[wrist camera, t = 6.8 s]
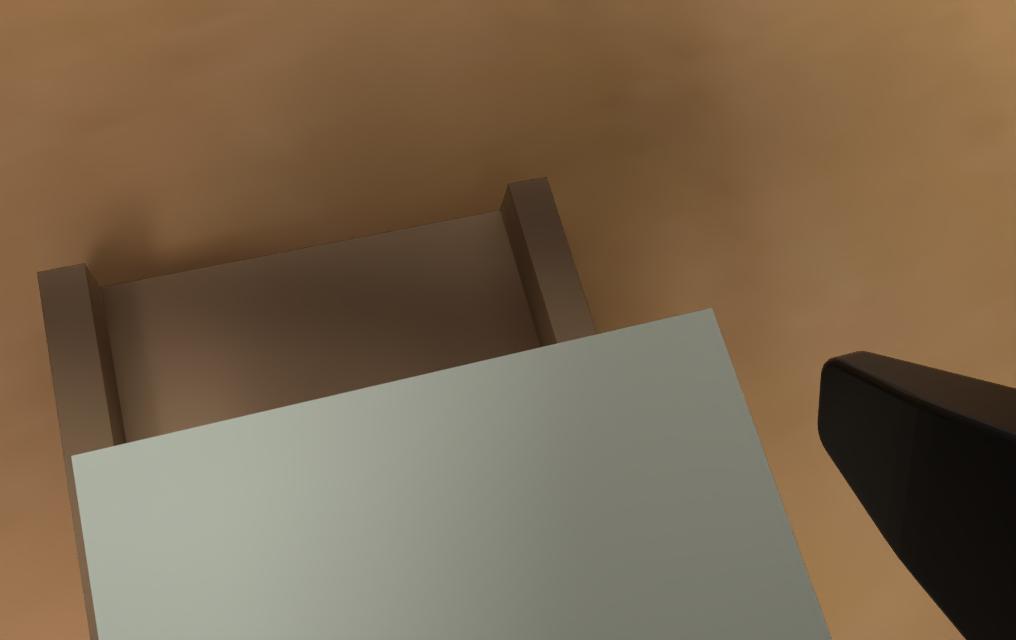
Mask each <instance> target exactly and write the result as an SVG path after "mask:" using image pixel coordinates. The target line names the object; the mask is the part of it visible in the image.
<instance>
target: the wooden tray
mask: <svg viewBox="0 0 1016 640" xmlns="http://www.w3.org/2000/svg"><path fill="white" fill-rule="evenodd" d="M37 275H38V282H39V289H40V296H41V303H42V310H43V316H44V323H45V330H46V337H47V344H48V351H49V358H50V365H51V372H52V378H53V385H54V392H55V399H56V406H57V413H58V420H59V427H60V434H61V440H62V447H63V454H64V461H65V468H66V475H67V482H68V489H69V496H70V503H71V509H72V516H73V523H74V530H75V537H76V544H77V551H78V558H79V565H80V571H81V578H82V585H83V592H84V599H85V606H86V613H87V620H88V627H89V633H90V640H99V639H98V632H97V625H96V619H95V612H94V605H93V599H92V592H91V585H90V579H89V572H88V565H87V559H86V552H85V545H84V539H83V532H82V525H81V518H80V512H79V505H78V498H77V492H76V485H75V478H74V472H73V465H72V458H71V456H73V455H78V454H82V453H86V452H91V451H95V450H99V449H104V448H108V447H112V446H117V445H121V444H125V443H130V442H134V441H138V440H143V439H147V438H151V437H155V436H160V435H164V434H168V433H173V432H177V431H181V430H186V429H190V428H194V427H199V426H203V425H207V424H212V423H216V422H220V421H225V420H229V419H233V418H238V417H242V416H246V415H251V414H255V413H259V412H263V411H268V410H272V409H276V408H281V407H285V406H289V405H294V404H298V403H302V402H307V401H311V400H315V399H320V398H324V397H328V396H333V395H337V394H341V393H346V392H350V391H354V390H359V389H363V388H367V387H371V386H376V385H380V384H384V383H389V382H393V381H397V380H402V379H406V378H410V377H415V376H419V375H423V374H428V373H432V372H436V371H441V370H445V369H449V368H454V367H458V366H462V365H467V364H471V363H475V362H479V361H484V360H488V359H492V358H497V357H501V356H505V355H510V354H514V353H518V352H523V351H527V350H531V349H536V348H540V347H544V346H549V345H553V344H557V343H562V342H566V341H570V340H575V339H579V338H583V337H587V336H592V335H596V334H597V333H596V330H595V327H594V324H593V321H592V318H591V314H590V311H589V308H588V305H587V302H586V299H585V296H584V293H583V289H582V286H581V283H580V280H579V277H578V274H577V271H576V268H575V264H574V261H573V258H572V255H571V252H570V249H569V246H568V243H567V239H566V236H565V233H564V230H563V227H562V224H561V221H560V217H559V214H558V211H557V208H556V205H555V202H554V199H553V196H552V192H551V189H550V186H549V183H548V180H547V177H542V178H537V179H532V180H526V181H521V182H516V183H510V184H508V187H507V190H506V193H505V196H504V199H503V202H502V205H501V209H500V210H499V211H493V212H488V213H483V214H478V215H473V216H468V217H462V218H457V219H452V220H447V221H442V222H436V223H431V224H426V225H421V226H416V227H411V228H405V229H400V230H395V231H390V232H385V233H380V234H374V235H369V236H364V237H359V238H354V239H349V240H343V241H338V242H333V243H328V244H323V245H318V246H312V247H307V248H302V249H297V250H292V251H287V252H281V253H276V254H271V255H266V256H261V257H256V258H250V259H245V260H240V261H235V262H230V263H225V264H219V265H214V266H209V267H204V268H199V269H194V270H188V271H183V272H178V273H173V274H168V275H163V276H157V277H152V278H147V279H142V280H137V281H131V282H126V283H121V284H116V285H111V286H106V287H100V285H99V284H98V282H97V281H96V280H95V278H94V277H93V275H92V274H91V272H90V271H89V269H88V268H87V266H86V265H85V264H84V263H83V264H78V265H73V266H67V267H62V268H57V269H51V270H46V271H41V272H37Z"/></svg>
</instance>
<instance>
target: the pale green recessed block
mask: <svg viewBox="0 0 1016 640" xmlns="http://www.w3.org/2000/svg"><path fill="white" fill-rule="evenodd" d="M71 458H72V465H73V472H74V478H75V485H76V492H77V498H78V505H79V512H80V518H81V525H82V532H83V539H84V545H85V552H86V559H87V565H88V572H89V579H90V585H91V592H92V599H93V605H94V612H95V619H96V625H97V632H98V639H99V640H832V639H831V636H830V633H829V630H828V628H827V625H826V622H825V619H824V616H823V614H822V611H821V608H820V605H819V603H818V600H817V597H816V594H815V592H814V589H813V586H812V583H811V581H810V578H809V575H808V572H807V569H806V567H805V564H804V561H803V558H802V556H801V553H800V550H799V547H798V545H797V542H796V539H795V536H794V533H793V531H792V528H791V525H790V522H789V520H788V517H787V514H786V511H785V509H784V506H783V503H782V500H781V497H780V495H779V492H778V489H777V486H776V484H775V481H774V478H773V475H772V473H771V470H770V467H769V464H768V462H767V459H766V456H765V453H764V450H763V448H762V445H761V442H760V439H759V437H758V434H757V431H756V428H755V426H754V423H753V420H752V417H751V414H750V412H749V409H748V406H747V403H746V401H745V398H744V395H743V392H742V390H741V387H740V384H739V381H738V379H737V376H736V373H735V370H734V367H733V365H732V362H731V359H730V356H729V354H728V351H727V348H726V345H725V343H724V340H723V337H722V334H721V331H720V329H719V326H718V323H717V320H716V318H715V315H714V312H713V309H712V308H708V309H704V310H700V311H695V312H691V313H687V314H683V315H678V316H674V317H670V318H665V319H661V320H657V321H652V322H648V323H644V324H639V325H635V326H631V327H626V328H622V329H618V330H613V331H609V332H605V333H600V334H596V335H592V336H587V337H583V338H579V339H575V340H570V341H566V342H562V343H557V344H553V345H549V346H544V347H540V348H536V349H531V350H527V351H523V352H518V353H514V354H510V355H505V356H501V357H497V358H492V359H488V360H484V361H479V362H475V363H471V364H467V365H462V366H458V367H454V368H449V369H445V370H441V371H436V372H432V373H428V374H423V375H419V376H415V377H410V378H406V379H402V380H397V381H393V382H389V383H384V384H380V385H376V386H371V387H367V388H363V389H359V390H354V391H350V392H346V393H341V394H337V395H333V396H328V397H324V398H320V399H315V400H311V401H307V402H302V403H298V404H294V405H289V406H285V407H281V408H276V409H272V410H268V411H263V412H259V413H255V414H251V415H246V416H242V417H238V418H233V419H229V420H225V421H220V422H216V423H212V424H207V425H203V426H199V427H194V428H190V429H186V430H181V431H177V432H173V433H168V434H164V435H160V436H155V437H151V438H147V439H143V440H138V441H134V442H130V443H125V444H121V445H117V446H112V447H108V448H104V449H99V450H95V451H91V452H86V453H82V454H78V455H73V456H71Z"/></svg>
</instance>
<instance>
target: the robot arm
mask: <svg viewBox="0 0 1016 640" xmlns="http://www.w3.org/2000/svg"><path fill="white" fill-rule="evenodd" d="M818 432H819V436H820V440H821V442H822V444H823V446H824V448H825V450H826V451H827V453H828V454H829V456H830V457H831V459H832V460H833V462H834V463H835V465H836V466H837V468H838V469H839V471H840V472H841V474H842V475H843V477H844V478H845V480H846V481H847V483H848V484H849V486H850V487H851V489H852V490H853V492H854V493H855V495H856V496H857V498H858V499H859V501H860V502H861V504H862V505H863V507H864V508H865V510H866V511H867V513H868V514H869V516H870V517H871V519H872V520H873V522H874V523H875V525H876V526H877V528H878V529H879V531H880V532H881V534H882V535H883V536H884V538H885V539H886V541H887V542H888V544H889V545H890V546H891V548H892V549H893V551H894V552H895V553H896V555H897V556H898V558H899V559H900V560H901V561H902V563H903V564H904V565H905V566H906V568H907V569H908V570H909V572H910V573H911V574H912V575H913V577H914V578H915V579H916V580H917V581H918V583H919V584H920V585H921V586H922V587H923V589H924V590H925V591H926V592H927V593H928V595H929V596H930V597H931V598H932V599H933V601H934V602H935V603H936V604H937V605H938V607H939V608H940V609H941V610H942V612H943V613H944V614H945V615H946V616H947V618H948V619H949V620H950V621H951V622H952V624H953V625H954V626H955V627H956V628H957V630H958V631H959V632H960V633H961V634H962V636H963V637H964V638H965V639H966V640H1016V388H1012V387H1008V386H1004V385H1000V384H996V383H992V382H988V381H983V380H979V379H975V378H971V377H967V376H963V375H959V374H955V373H951V372H947V371H943V370H939V369H935V368H931V367H927V366H923V365H919V364H915V363H911V362H907V361H903V360H899V359H895V358H890V357H886V356H882V355H878V354H874V353H870V352H866V351H857V352H853V353H849V354H845V355H841V356H838V357H834V358H830V359H829V360H828V361H827V362H826V363H825V364H824V366H823V368H822V372H821V382H820V396H819V410H818Z"/></svg>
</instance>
